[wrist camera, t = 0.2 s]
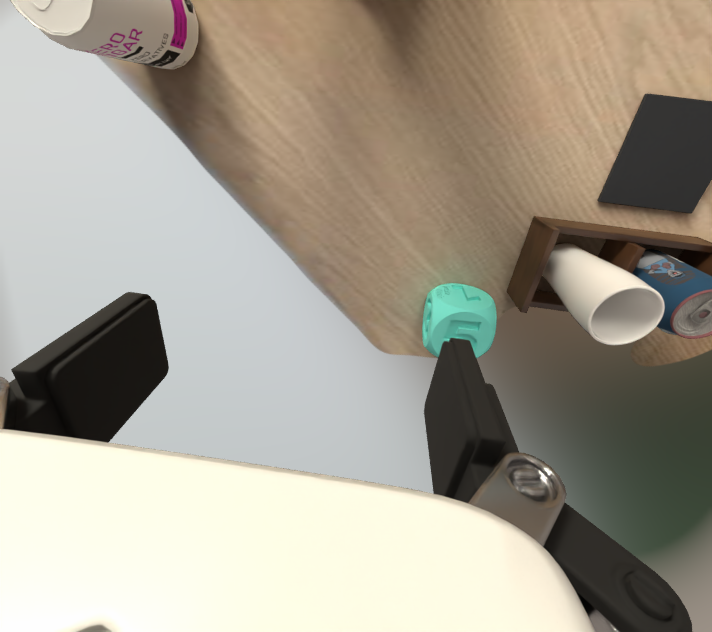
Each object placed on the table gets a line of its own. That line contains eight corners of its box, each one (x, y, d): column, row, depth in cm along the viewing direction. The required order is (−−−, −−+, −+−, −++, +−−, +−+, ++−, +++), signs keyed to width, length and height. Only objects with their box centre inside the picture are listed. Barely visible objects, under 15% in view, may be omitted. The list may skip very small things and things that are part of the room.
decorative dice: (486, 285, 49) (502, 313, 42) (473, 333, 53) (486, 365, 46) (429, 280, 49) (435, 307, 42) (420, 328, 53) (425, 360, 46)
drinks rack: (533, 216, 44) (553, 229, 38) (697, 237, 43) (739, 253, 38) (506, 291, 49) (520, 312, 44) (652, 310, 49) (683, 334, 43)
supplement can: (146, -53, 34) (-2, -158, 21) (216, 22, 37) (121, -31, 24) (112, 24, 37) (-35, -26, 24) (178, 88, 40) (76, 74, 27)
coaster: (645, 93, 37) (648, 93, 36) (750, 106, 36) (754, 106, 36) (597, 200, 42) (599, 201, 42) (688, 212, 42) (691, 213, 41)
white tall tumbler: (598, 249, 45) (684, 303, 32) (563, 291, 48) (627, 356, 35) (555, 227, 44) (624, 273, 31) (521, 272, 47) (571, 330, 34)
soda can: (631, 302, 48) (697, 353, 38) (592, 279, 47) (650, 326, 37) (676, 261, 45) (762, 304, 35) (635, 235, 44) (712, 272, 33)
